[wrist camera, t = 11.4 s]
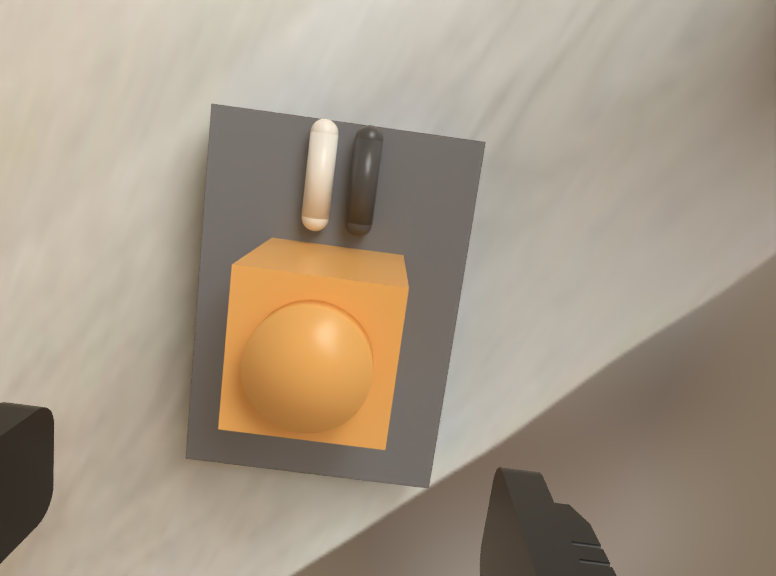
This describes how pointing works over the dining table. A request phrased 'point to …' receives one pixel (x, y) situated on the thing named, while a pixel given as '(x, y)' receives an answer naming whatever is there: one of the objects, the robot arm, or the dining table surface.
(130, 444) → the dining table surface
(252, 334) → the orange domed cube
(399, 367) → the button control panel
